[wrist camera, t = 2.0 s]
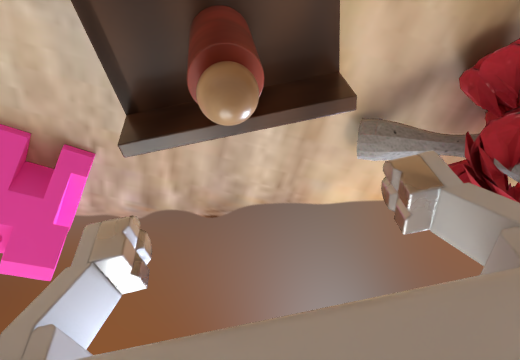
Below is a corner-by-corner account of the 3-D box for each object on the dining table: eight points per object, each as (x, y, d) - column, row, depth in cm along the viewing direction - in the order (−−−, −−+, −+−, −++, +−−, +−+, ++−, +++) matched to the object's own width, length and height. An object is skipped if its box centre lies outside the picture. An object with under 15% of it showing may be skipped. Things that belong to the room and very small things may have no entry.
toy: (198, 72, 25) (198, 153, 18) (181, 11, 22) (172, 77, 15) (254, 60, 25) (278, 136, 18) (244, -2, 22) (267, 58, 15)
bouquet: (371, 159, 57) (606, 181, 45) (340, 273, 41) (695, 354, 29) (377, 23, 44) (713, 3, 32) (335, 112, 27) (987, 140, 16)
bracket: (74, 216, 47) (50, 281, 40) (-14, 196, 43) (-60, 264, 35) (95, 153, 41) (71, 215, 34) (-5, 122, 37) (-59, 185, 29)
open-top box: (147, 71, 35) (123, 158, 24) (103, -40, 29) (43, 9, 18) (306, 38, 35) (356, 110, 24) (300, -81, 29) (364, -57, 18)
